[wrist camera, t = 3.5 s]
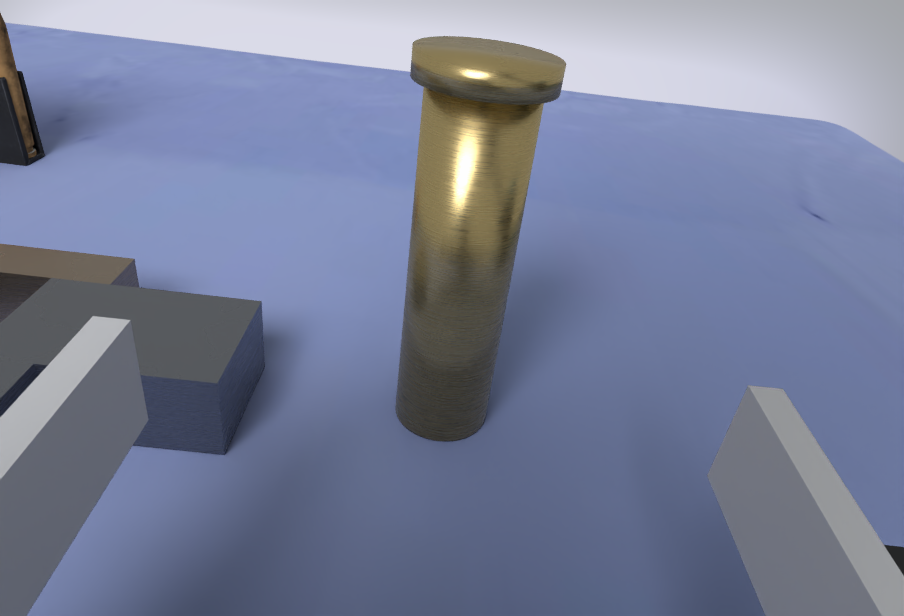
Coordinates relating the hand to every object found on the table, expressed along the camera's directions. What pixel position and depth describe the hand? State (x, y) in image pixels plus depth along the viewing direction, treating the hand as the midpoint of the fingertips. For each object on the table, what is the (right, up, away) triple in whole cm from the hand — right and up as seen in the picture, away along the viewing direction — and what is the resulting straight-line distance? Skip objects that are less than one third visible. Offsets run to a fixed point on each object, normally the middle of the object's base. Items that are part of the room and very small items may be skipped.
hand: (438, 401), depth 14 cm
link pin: (0, -2, +10) cm, 10 cm away
